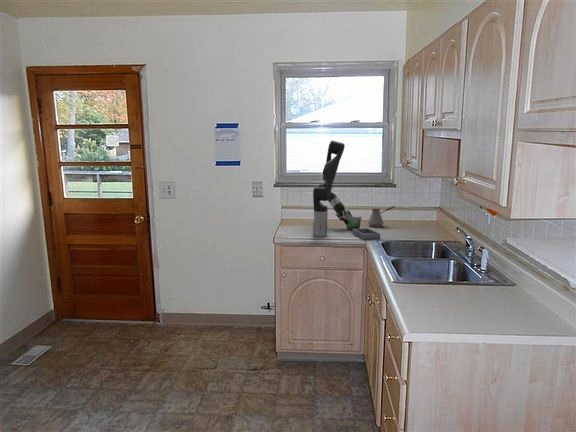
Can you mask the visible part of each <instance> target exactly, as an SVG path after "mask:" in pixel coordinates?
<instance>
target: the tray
mask: <svg viewBox="0 0 576 432" xmlns="http://www.w3.org/2000/svg"><path fill="white" fill-rule="evenodd" d="M351 234H352V235H353V236H355V237H357V238H359V239H360V240H363V241H366V240H368V241H369V240H379V239H381V232H378V231H376V230H373V229H371V228H370V227H363V228H361V227H360V229H352V231H351Z"/></svg>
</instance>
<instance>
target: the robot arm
mask: <svg viewBox="0 0 576 432" xmlns="http://www.w3.org/2000/svg"><path fill="white" fill-rule="evenodd" d="M344 151H345V143H343V142H340V141H336V140H334V139H333V140H330V142H329V144H328V149H327V154H326V161H325V164H324V166H323V170H322V179H323V181H324V183H320V184H319V185H318V186H315V187H314V188H313V191H312V199H313V200H312V201H313V203H312V204H313V205H312V206H313V222H312V236H313V237H317V238H323V237H327V236H328V205H325V204H324V203H322V202H328V203H329V205H330V207H332V209H333V210H334V212H335V216H336V217H337V218H338V219H339V221H343V222H344V224H345V225H347V224H348V221H347V220H346V219H345V216H347V217H353V215H352V213H351V211H350V210H349V209H348V210H346V207H345V206H344V204H343V203H342V201H341V199H340V198H338V196H337V194H336V193H334V192H333V191H332V189H333V184H334V181H335V177H336V176H337V175H336V174H337V171H338V170H339V169H338V168H339V164H340V162H341V159H342V156H343V154H344ZM332 155H335V156H333V158H332Z"/></svg>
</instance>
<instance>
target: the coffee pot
mask: <svg viewBox="0 0 576 432" xmlns="http://www.w3.org/2000/svg"><path fill="white" fill-rule="evenodd" d="M394 208H397V207H396V205H393V206H391V207H388V208H386V209H385V210H383V211H381V208H372V209H371V211H372V213H371V215H370V217H369V219H368V222H367V224H368V225H369V226H370V227H372V228H381V226H383V224H384V220H383V218H382V214H383V213H384V212H385V213H386V212H387V211H390V210H392V209H394Z"/></svg>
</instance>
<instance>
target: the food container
mask: <svg viewBox="0 0 576 432" xmlns="http://www.w3.org/2000/svg"><path fill="white" fill-rule="evenodd" d="M345 219H346V220H347V221H348V224H347V225H346V224H345V225H346V230H347V231H349V232H350V231H351V232H352V229H360V228H361V221H362V219H363V218H362V216H357V217H356V216H352V217H347V215H346V216H345Z"/></svg>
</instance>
